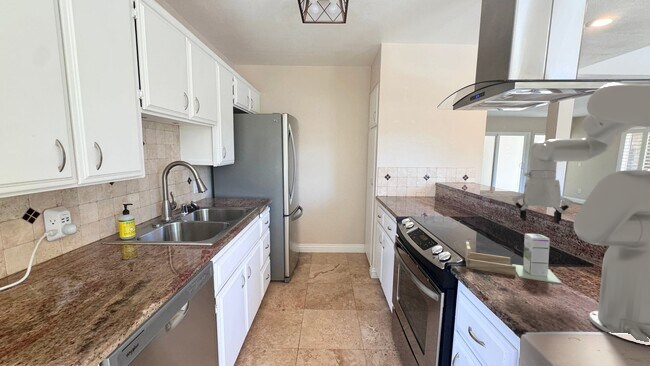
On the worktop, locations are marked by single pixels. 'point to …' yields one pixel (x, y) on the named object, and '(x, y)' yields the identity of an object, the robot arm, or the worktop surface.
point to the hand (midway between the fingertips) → (539, 221)
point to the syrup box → (536, 254)
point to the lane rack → (489, 262)
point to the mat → (524, 274)
